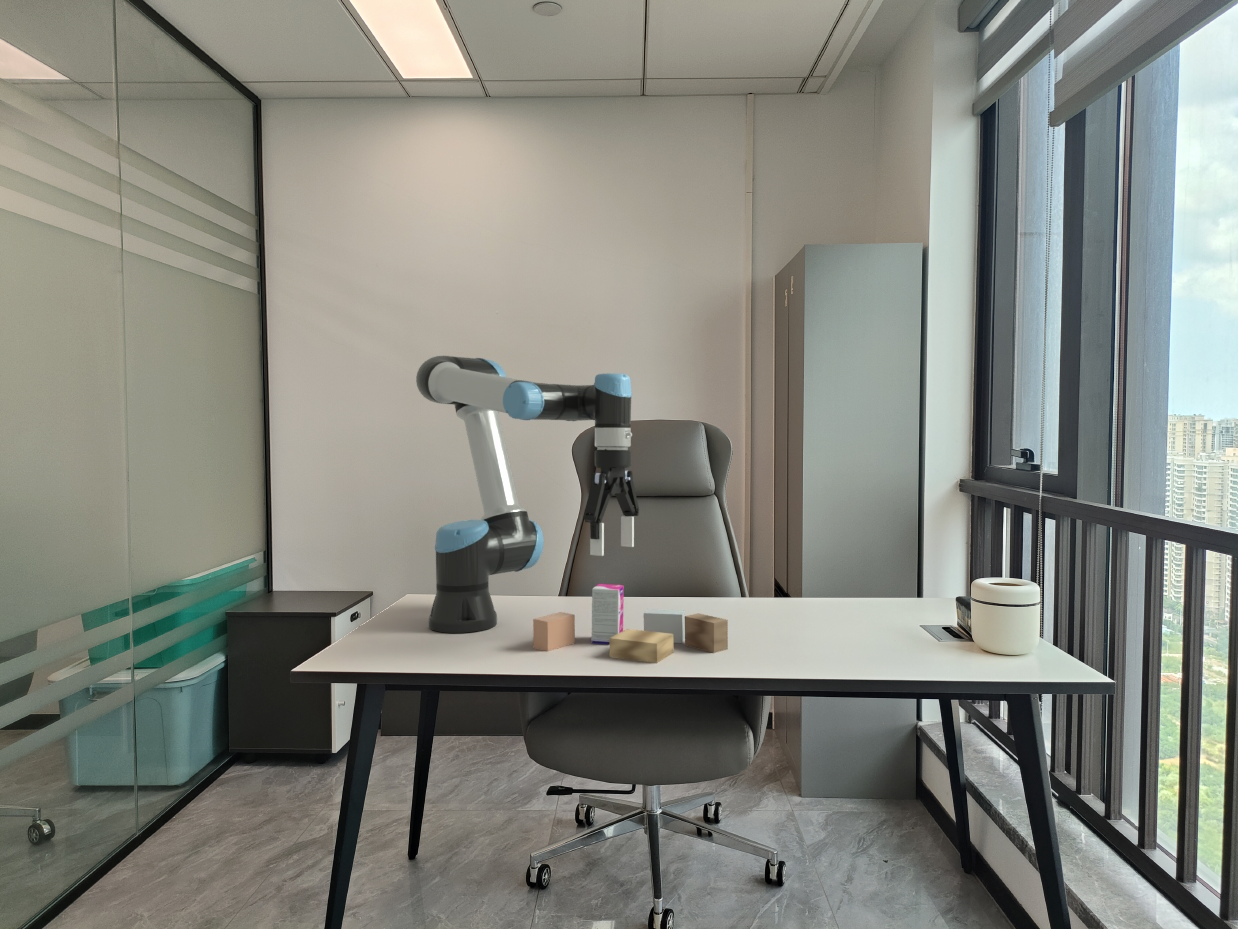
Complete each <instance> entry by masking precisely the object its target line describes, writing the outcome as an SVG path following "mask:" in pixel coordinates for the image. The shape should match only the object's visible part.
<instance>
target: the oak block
mask: <svg viewBox="0 0 1238 929" xmlns="http://www.w3.org/2000/svg"><path fill="white" fill-rule="evenodd" d="M609 643H610V645H609V657H610V658H615V659H623V660H629V661H638V662H645V663H655V664H658V663H659V662H661V661H662V660H665V659H666V658H667V657H669V656H671V655H672V654H674V652H675V650H674V643H673V634H670V633H661V632H652V631H644V629H642V630H640V629H631V628H626V629H625V630H624V629H623V631H622V632H620V633H618V634H616V635H615V636H613V637H611V638H609Z"/></svg>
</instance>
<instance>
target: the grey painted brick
mask: <svg viewBox="0 0 1238 929" xmlns="http://www.w3.org/2000/svg"><path fill="white" fill-rule="evenodd" d="M685 611H686V610H681V609H659V608H657V609H656V608H655V609H654V608H647V609H646V610H645V611H644V613H643V631H652V632H661V633H670V634H673V644H683V643H684V642H685V616H686V615H685Z"/></svg>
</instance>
